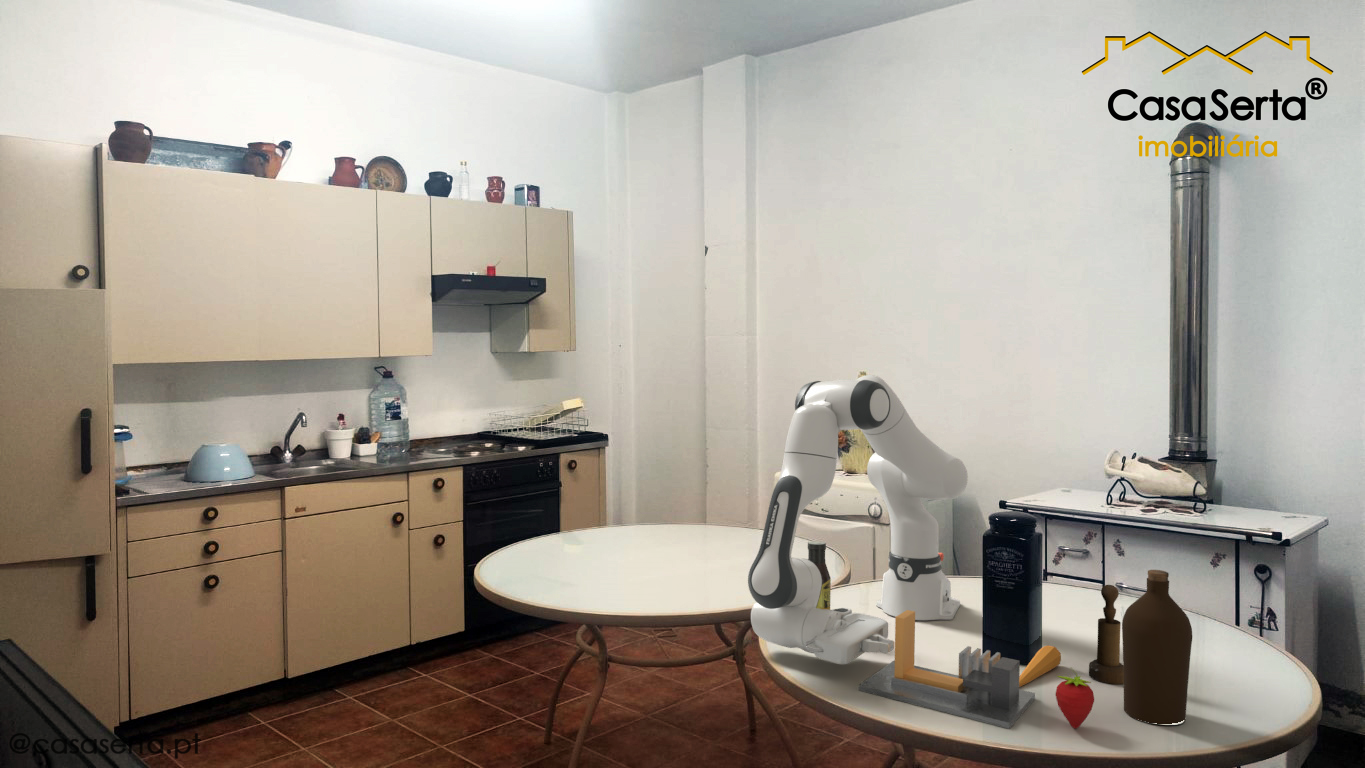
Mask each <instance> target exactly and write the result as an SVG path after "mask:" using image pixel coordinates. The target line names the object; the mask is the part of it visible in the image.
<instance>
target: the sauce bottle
mask: <svg viewBox="0 0 1365 768" xmlns="http://www.w3.org/2000/svg"><path fill="white" fill-rule="evenodd" d="M826 549H827V542H825V541H819V540H813V541H808V542H807V550H808V558H807V559H808V560H810V561H812V562H813V563H814V564H815V565H816V566H817V567H818V569H819V570H820V573H821V576H822V588H821V593H820V597H819V601H818V604H817V607H816V608H819V609H829V610H831V594H832V593H831V580H832V579H831V576H830V572H829V570H828V567H827V563H826Z"/></svg>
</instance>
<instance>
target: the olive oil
mask: <svg viewBox="0 0 1365 768" xmlns="http://www.w3.org/2000/svg"><path fill="white" fill-rule="evenodd" d="M1169 575H1170V573H1169V572H1167V571H1165V570H1160V569H1149V570H1147V578H1146V592H1145V593H1143V594H1142V596H1140V597H1139V598H1138V599H1136V600H1135V601H1133V603H1131V604H1130V605H1129V606H1128V607H1127V609H1126V610H1125V612H1124V615H1123V617H1122V622H1121V630H1122V631H1121V632H1122V633H1121V634H1122V635H1121V637H1122V638H1121V639H1122V660H1123V661H1122V664H1123V673H1124V683H1123V710H1124V712H1125V714H1126V715H1127V716H1129V717H1131V718H1132V717H1133V719H1134V718H1136V719H1135V720H1137V719H1139V720H1142V721H1146V722H1149V723H1157V724H1172V723H1178V722H1181V721H1183V720H1185V721H1186V719H1185V718H1186V717H1187V704H1188V703H1187V702H1188V689H1189V678H1190V677H1189V676H1190V664H1191V655H1192V643H1193V628H1192V624H1191V621H1190V619H1189V617H1188V615H1187V614H1186V613H1185V611H1184V610H1183V609H1182V608H1181V607H1180V606H1179V605H1178V603H1177V602H1176V601H1175V600H1174V599H1173V598H1172V597H1171V596H1170V594H1169V590H1170V580H1169ZM1139 720H1138V721H1139ZM1142 721H1141V722H1142ZM1149 723H1148V724H1149Z"/></svg>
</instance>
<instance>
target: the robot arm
mask: <svg viewBox="0 0 1365 768" xmlns="http://www.w3.org/2000/svg"><path fill="white" fill-rule="evenodd" d="M794 410H795V411H794V413H793V414H792V417H791V420H790V424H789V427H788V431H787V436H786V440H785V446H784V450H783V451H784V453H783V461H782V464H781V465H782V466H781V469H780V473H779V477H778V479H777V482H776V484H775V486H774V489H773V491H772V494H771V497H770V502H769V507H768V511H767V515H766V518H765V519H766V520H765V523H764V529H763V533H762V537H761V541H760V546H759V549H758V552H757V555H756V557H755V559H754V560H753V562H752V565H751V566H750V569H749V572H748V576H747V585H748V586H747V587H748V590H749V593H750V595H751V597H752V598H753V600H754V601H755V602H754V603H753V605H752V608H751V610H750V624H751V626H752V630H753V632H754V633H755V634H756V635H757V636H758V637H759V638H760V639H762V640H764V641H766V642H768V643H771V644H774V645H777V646H779V647H780V646H781V647H785V648H787V649H789V648H790V649H796V648H797V649H801V650H803V651H804V652H805V653H806V652H807V653H809V654H814V656H815V657H817V658H819V659H820V660H824V661H827V662H830V663H833V664H837V665H848V664H849V663H851V662H852V661H854V660H855V659H857V658H859V657H860V656H862V655H863V654H865V653H882V654H889V653H890V652H891V651H893V650H895V640H893V639H888V638H889V623H888V621H887V620H885V619H883V618H882V617H878V616H874V615H870V614H865V613H861V612H852V611H853V610H852V609H851V608H848V607H841V608H833V609H830V610H829V609H819V608H816V607H817V604H818V601H819V597H820V593H821V588H822V576H821V573H820V570H819V569H818V567H817V566H816V565H815V564H814V563H813V562H812V561H810V560H808V558H801V557H800V558H799V557H792V552H793V547H794V542H795V537H796V533H797V527H798V524H799V519H800V517H801V515H802V513H803V511H804V510H805V509H806V508H807V507H808V506H810V504H812V503H813V502H815V501H816V500H819V499H820V498H822V497H823V496H824V495H826V494H827V493H828V492H829V491H830V490H831V488H832V486H833V482H834V479H835V476H836V469H837V461H838V452H839V433H840V432H841V431H848V430H849V431H850V430H851V431H853V430H860V431H861V432H862V434H863V436H864V438H865V439H866V441H867V442H868V443H869V445H870V446H871V448H872V450H873V452H874V453H872V455H871V456H870V458H869V460H868V462H867V465H866V466H867V467H866V474H867V477H868V480H869V482H870V484H871V485H872V486H873V487H874V488H875V489H876V490H877V491H878V493H879V494H880V496H881V498H882V499H883V501H884V504H885V507H886V509H887V512H888V517H889V524H890V550H889V552H888V554H889V555H888V560H887V561H888V568H889V569H888V570H887V571H885V572H884V573H883V576H882V587H881V599H878V600H876V603H875V606H877V607H878V608H880V609H881V610H882V611H883V612H884V613H885V614H887V615H889V616H891V617H896V616H898V615H900V614H901V613H903V612H905V611H906V610H910V611H915V621H934V620H946V621H947V620H949V621H950V620H953V619H954V617H955V615H956V613H957V612H958V609H959V608H960V606H961V601H960V599H957V598H956V597H953V596H951V595H952V594H951V593H952V592H951V591H952V590H951V588H952V586H951V585H952V584H951V581H950V580H949V578H948V576H946V574H945V573H944V572H943V571H942V562H943V561H944V559H945V558H944V557H945V554H944V553H943V552H939V540H940V539H939V538H940V537H939V536H940V535H939V534H940V533H939V531H940V527H939V523H938V520H937V518H936V517H935V516H934V515H932V514H931V513H930V512H929V511H928V510H927V508H926V507H925V506H924V503H923V501H922V499H928V500H934V501H943V500H944V501H945V500H953V499H954V500H955V499H957V498H958V497H960V496H961V495H962V494H963V492H964V491H965V489H966V487H967V485H968V481H969V479H968V478H969V476H968V471H967V467H966V465H965V464H964V462H963V461H962V460H961V459H959V458H958V457H955V456H953V455H952V454H950V453H948V452H946V451H945V450H943V448H940V447H939V446H938V445H936V443H934V442H933V441H932V440H931V439H930V438H928V437H927V435H926V434H924V433H923V432H922V431H921V430H920V429H919V428H918V427H917V426H916V424H915V422H914V421H913V419H912V417H911V416H910V415H909V413H908V411H907V410H906V408H905V406H904V404H903V403H902V401H901V400H900V398H899V397H898V395H897V394H896V393H895V392H894V390H893V389H892V388H891V386H889V384H888V383H887V382H886V381H885V380H884V379H883V378H881V377H880V376H878V375H875V374H867V375H863V376H862V375H861V376H860V377H858V378H856V379H851V378H849V379H846V378H844V379H840V378H839V379H835V380H834V379H833V380H825V381H822V380H815V381H811V382H808V383H805V384H804V385H803V386H802V387H801V388H800V389H799V390H798V393H797V395H796V397H795V402H794Z"/></svg>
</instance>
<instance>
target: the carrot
mask: <svg viewBox="0 0 1365 768" xmlns="http://www.w3.org/2000/svg"><path fill="white" fill-rule="evenodd" d="M1061 655H1062V654H1061V652H1060V650H1059V649H1058V648H1057V647H1055V646H1053V645H1049V644H1048V645H1044V646H1042V647H1041V648H1040V649H1038V651H1036V653H1035V655H1034V656H1033V657H1032V659H1031V660H1030V662H1028V664H1027V665H1026V666H1025V668H1024V670H1023V671H1022V672H1021V673H1020V674H1019V688H1021V687H1022V686H1024V685H1027V684H1029V683H1030V682H1032V681H1033V680H1036V679H1038V678H1039V677H1040V676H1043V675H1044V674H1046V673H1048V672H1049V671H1052V670H1053V669H1054V668H1056V667H1057V666H1059V665H1061V662H1062V659H1061V658H1062V656H1061Z"/></svg>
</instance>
